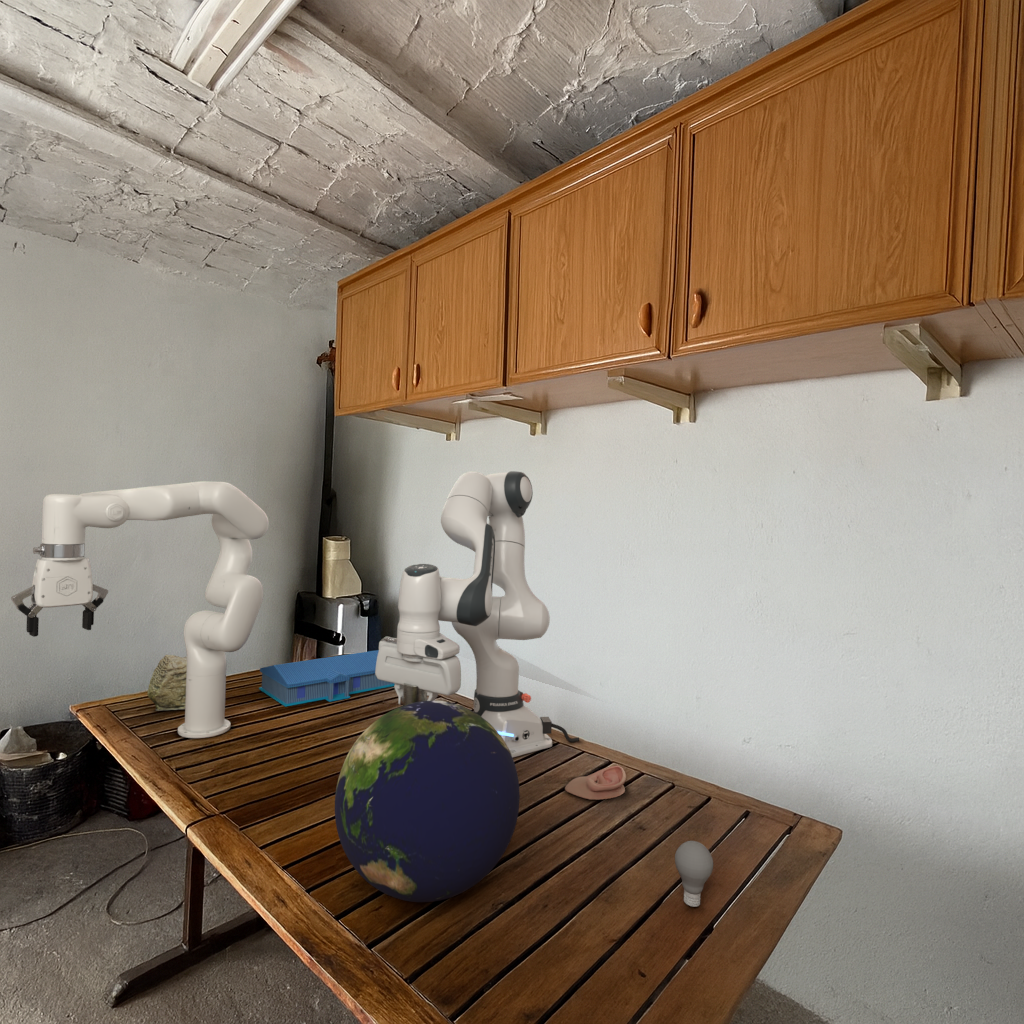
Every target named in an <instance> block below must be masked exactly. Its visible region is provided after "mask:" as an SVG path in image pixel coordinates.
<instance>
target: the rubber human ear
mask: <svg viewBox="0 0 1024 1024" xmlns="http://www.w3.org/2000/svg"><path fill="white" fill-rule="evenodd" d="M626 781H627V774H626V771H625V769H624V768H623V766H620V765H612V766H608V767H604V768H602V769H600V770H597V771H595V772H594V773H591V774H588V775H586V776H584V775H583V776H577V777H575V778H573V779H572V780H570V781H569V782H568V783H567V784H566V785H565V787H564V790H565V791H566V792H567V793H569V794H571V795H574V796H576V797H579V798H582V799H586V800H591V801H592V800H595V801H597V800H598V801H599V800H607V799H608V800H609V799H613V798H617V797H620V796H622V795H623V794H624V793H626V787H625V782H626Z"/></svg>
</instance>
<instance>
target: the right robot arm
mask: <svg viewBox="0 0 1024 1024" xmlns="http://www.w3.org/2000/svg"><path fill="white" fill-rule="evenodd" d="M533 496H534V495H533V486H532V482H531V480H530V478H529V477H528V476H527V474H525V473H524V472H522V471H516V470H515V471H514V470H510V471H508V472H495V473H489V474H487V475H486V474H484V473H481V472H479V471H475V470H473V471H471V470H470V471H466V472H464V473H462V474H460V475H459V477H458V478H457V480H456V481H455V482H454V484H453V486H452V488H451V489H450V491H449V493H448V495H447V498H446V500H445V503H444V505H443V508H442V511H441V515H440V524H441V527H442V530H443V532H444V533H445V535H446V536H447V537H448V538H449V539H450V540H452V541H453V542H455V544H458V545H460V546H463V547H465V548H468V549H469V550H470V551H473V552H474V553H475V554H474V564H473V572H472V576H470V577H467V578H456V577H445V576H441V575H440V570H439V567H438V566H436V565H434V564H429V563H418V564H412V565H409V566H407V567H405V568H404V569H403V571H402V574H401V578H400V583H399V590H398V603H397V608H398V613H399V620H398V623H397V627H396V628H397V630H396V637H391V636H385V637H383V638H381V640H380V641H379V642H378V650H379V652H378V656H377V662H376V669H375V674H376V677H377V678H378V679H379V680H383V681H387V682H391V683H395V685H394V686H393V689H394V691H395V693H396V695H397V697H398V699H397V700H398V702H397V703H398V705H400V706H403V688H404V683H406V684H411V685H415V686H418V687H419V689H422V690H426V691H427V701H436V700H437V698H438V696H439V695H444V696H449V697H450V696H452V695H454V694H456V693H458V691H460V689H461V686H462V666H461V660H460V658H459V657H458V656H457V655H459V653H460V650H461V647H460V644H459V643H458V642H455V641H453V640H452V639H450V638H448V637H447V636H445V635H444V634H443V633H441V626H440V622H448V623H451V626H452V628H453V629H454V631H455V632H456V633H457V635H459V636H460V637H462V638H463V640H464V641H465V642H466V643H467V644H468V646H469V647H470V649H471V652H472V653H473V657H474V659H475V660H474V661H475V670H476V672H475V673H476V674H475V675H476V680H475V681H476V686H475V689H474V693H473V712H475V713H476V714H478V715H480V716H481V717H482V718H484V719H485V720H486V721H487V722H489V723H490V724H491V725H492V726H493V727H494V729H495V730H496V731H497V732H498V733H499V734H500V736H501V737H502V738H503V740H504V741H505V743H506V745H507V747H508V748H509V750H510V752H511V755H512V758H513V759H514V758H516V757H519V756H523V755H527V754H530V753H534V752H538V751H541V750H545V749H548V748H552V747H553V740H552V738H551V736H550V735H551V734H552V728H554V729H557V730H558V731H560V732H562V734H563V736H564V739H565V740H566V741H568V742H569V743H576V742H580V737H573V738H571V737H570V736H569V734H568V731H567V730H566V729H565V728H564V727H562V726H561V725H558V724H555V723H553V722H552V720H551V719H550V717H549V716H540V717H539V715H537V714H536V713H535V712H534V711H532V710H531V709H530V708H529V707H528V706H526V705H525V704H524V703H527V704H528V703H530V702H531V701H532V696H531V695H530V694H528V693H526V692H525V693H524V692H523V691H521V690H519V680H520V679H519V678H520V664H519V661H518V660H517V658H516V657H515V656H514V655H512V654H511V653H510V652H508V651H505V650H504V649H502V648H501V647H500V646H499V644H498V642H497V640H512V641H513V640H514V641H528V640H536V639H541V638H542V637H543V636H544V635H545V634H546V633H547V631H548V629H549V627H550V621H551V616H550V611H549V610H548V607H547V605H546V604H545V603H544V602H543V601H542V600H541V599H540V598H538V597H537V595H536V594H535V593H534V592H533V591H532V589H531V588H530V586H529V583H528V581H527V578H526V577H527V576H526V570H525V555H526V552H525V551H526V532H525V531H526V530H525V524H524V523H525V522H524V517H523V516H524V515H525V514H526V511H527V510H528V508H529V507H530V505H531V503H532V499H533ZM493 584H494V585H495V586H498V587H499V588H500V589H502V591H503V592H504V595H502V596H495V595H493ZM439 621H440V622H439ZM549 734H550V735H549Z"/></svg>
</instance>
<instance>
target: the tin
mask: <svg viewBox="0 0 1024 1024" xmlns="http://www.w3.org/2000/svg"><path fill="white" fill-rule="evenodd" d="M427 700H428V696H427V691H426V690H422V689H419V687H418V686H415V685H411V684H406V683H404V688H403V705H402V706H404V705H407V704H410V703H415V702H421V701H427Z"/></svg>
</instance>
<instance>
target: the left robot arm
mask: <svg viewBox="0 0 1024 1024" xmlns="http://www.w3.org/2000/svg"><path fill="white" fill-rule="evenodd" d="M201 515H211V527H212V529H213V531H214V533H215V535H216V537H217V539H218V540H217V541H218V543H219V554H218V558H217V560H216V563H215V565H214V568H213V569H212V572H211V576H210V578H209V580H208V582H207V584H206V588H205V591H204V597H205V600H206V602H207V603H208V604H209V605H211V606H214V607H218V608H223V609H225V611H224V612H222V611H217V610H216V611H215V610H208V609H207V610H204V609H203V610H199V611H196V612H194V613H193V614H191V615H190V616H189V617H188V618H187V619H186V621H185V623H184V627H183V639H184V646H185V651H186V652H185V653H186V657H187V672H186V701H185V709H184V722H182V724H180V725H179V726H178V727H177V734H178V735H179V736H180V737H182V738H188V739H207V738H212V737H216V736H220V735H222V734H224V733H227V732H228V731H230V729H231V727H232V725H231V723H232V722H231V721H230V720H228V719H226V718H225V715H226V692H227V691H226V689H227V668H228V667H227V665H228V664H227V656H226V653H233V652H238V651H239V650H240V649H242V647H244V646H245V644H246V643H247V641H248V640H249V637H250V635H251V633H252V630H253V628H254V625H255V622H256V621H257V617H258V614H259V612H260V609H261V607H262V603H263V600H264V587H263V584H262V582H261V581H260V580H259V578H257V577H256V576H253V575H250V574H249V572H250V569H251V565H252V562H253V558H254V552H253V548H252V545H251V542H250V541H251V540H258V539H261V538H262V537H263V536H266V533H267V532H268V530H269V527H270V523H269V518H268V515H267V513H266V512H265V510H264V509H262V508H261V506H259V505H258V504H257V503H256V502H254V501H253V500H252V499H251V498H250V497H249V496H248V495H246V494H245V492H243V491H242V490H240V489H239V488H238V487H236V486H235V485H234V484H232V483H230V482H227V481H211V480H209V481H208V480H202V481H192V482H189V481H188V482H182V483H171V484H161V485H149V486H141V487H133V488H122V489H111V490H101V491H92V492H91V491H90V492H83V493H79V494H74V493H73V494H72V493H49V494H47V495H45V496H44V497H43V500H42V519H41V521H42V523H41V543H40V545H39V546H37V547H36V546H35V547H33V549H32V553H33V555H39V557H40V558H37V560H36V563H35V567H34V571H33V577H32V584H31V586H30V587H28V588H26V589H24V590H22V591H20V592H17V593H16V594H14V595H12V596H11V597H10V599H11V601H12V603H13V605H14V606H15V608H16V610H18V611H19V612H20V613H22V614H23V615H24V616H26V629H25V630H26V633H28V634H29V636H32V638H33V637H34V638H35V637H38V636H39V625H40V624H39V623H40V622H39V621H40V620H39V619H40V618H39V617H38V616H37V615H38V614H39V613H40V612H41V611H42V610H43V609H49V608H50V609H51V608H61V607H73V606H74V607H75V606H83V608H84V609H83V610H82V617H81V618H82V619H81V620H82V621H81V623H82V624H81V627H82V629H84V630H86V631H92V626H94V622H95V621H94V620H95V612H96V611H97V609H98V608H99V607H100V606H101V605H102V604H103V603H104V600H105V599H106V597H107V595H108V593H109V590H108V589H107V588H104V587H101V586H99V585H96V584H94V583H93V574H92V567H91V561H90V558H89V557H85V549H86V528H87V527H91V528H98V529H114V528H118V527H120V526H122V525H123V524H125V523H126V522H127V521H147V522H148V521H150V522H151V521H152V522H153V521H154V522H155V521H156V522H158V521H169V520H174V519H180V518H187V517H194V516H201ZM94 592H96V593H97V596H96V597H95V598H94V599H93V597H94ZM28 597H30V601H31V603H32V604H31V605H29V607H28V606H27V605H25V603H24V602H23V601H24V599H26V598H28Z"/></svg>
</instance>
